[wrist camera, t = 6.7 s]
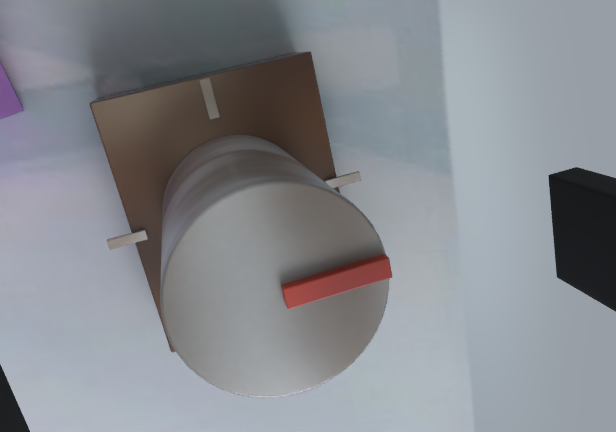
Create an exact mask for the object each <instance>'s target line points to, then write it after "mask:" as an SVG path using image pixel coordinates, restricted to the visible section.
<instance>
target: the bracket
mask: <svg viewBox="0 0 616 432" xmlns="http://www.w3.org/2000/svg"><path fill="white" fill-rule="evenodd" d="M20 111H23V108H22V106H21V104H20V102H19V100H18V98H17V96H16V94H15V92H14V89H13V87H12V85H11V83H10V81H9V79H8V77H7V75H6V73H5V71H4V69H3V67H2V65H1V63H0V119H1V118H4V117H6V116H9V115H12V114H15V113H18V112H20Z"/></svg>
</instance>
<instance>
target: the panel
mask: <svg viewBox="0 0 616 432" xmlns="http://www.w3.org/2000/svg"><path fill="white" fill-rule="evenodd" d="M90 107H91V110H92V113H93V116H94V119H95V122H96V125H97V128H98V131H99V134H100V137H101V140H102V143H103V146H104V149H105V152H106V155H107V158H108V161H109V164H110V168H111V171H112V174H113V177H114V180H115V183H116V186H117V189H118V192H119V195H120V198H121V201H122V204H123V207H124V210H125V213H126V216H127V219H128V222H129V225H130V228H131V231H132V233H129V234H126V235H122V236H118V237H115V238H111V239H108V240H107V243H108V246H109V248H110V249H114V248H117V247H121V246H125V245H128V244H132V243H136V246H137V249H138V252H139V255H140V259H141V262H142V265H143V268H144V271H145V274H146V277H147V280H148V283H149V286H150V289H151V292H152V295H153V298H154V301H155V304H156V307H157V310H158V313H159V316H160V319H161V322H162V325H163V328H164V331H165V334H166V337H167V340H168V343H169V347H170V350H171V352H175V351H176V350H175V349H174V347H173V345H172V344H171V342H170V340H169V337H168V335H167V332H166V330H165V327H164V323H163V319H162V314H161V304H160V288H161V248H162V209H163V198H164V192H165V189H166V186H167V183H168V180H169V178H170V176H171V174H172V173H173V171H174V170H175V168H176V167H177V165H178V164H179V163H180V162H181V161H182V159H183V158H184V157H185V156H186V155H188V154H189V153H190V152H191V151H192V150H194V149H195V148H197V147H198V146H200V145H202V144H204V143H206V142H208V141H210V140H213V139H216V138H219V137H225V136H231V135H246V136H253V137H257V138H261V139H264V140H267V141H269V142H271V143H273V144H275V145H277V146H278V147H280V148H281V149H283V150H284V151H285V152H287V153H288V154H289V155H291V156H292V157H293V158H295V159H296V160H297V161H298V162H300V163H301V164H302V165H304V166H305V167H306V168H307V169H309V170H310V171H311V172H313V173H314V174H315V175H316V176H318V177H319V178H320V179H322V180H323V181H324V182H325V183H327V184H328V185H329V186H331V187H332V188H333V189H334V190H336V191H337V192H338V193H340V192H339V186H343V185H346V184H350V183H354V182H357V181H361V178H360V172H359V171H357V172H354V173H350V174H346V175H343V176H339V177H336V173H335V168H334V163H333V158H332V153H331V148H330V143H329V138H328V134H327V129H326V124H325V119H324V114H323V109H322V104H321V99H320V94H319V89H318V85H317V80H316V75H315V70H314V65H313V60H312V55H311V52H295V53H291V54H287V55H282V56H278V57H274V58H269V59H265V60H261V61H256V62H252V63H248V64H244V65H239V66H235V67H231V68H226V69H222V70H218V71H213V72H209V73H205V74H200V75H196V76H192V77H187V78H183V79H179V80H174V81H170V82H166V83H162V84H157V85H153V86H149V87H144V88H140V89H136V90H131V91H127V92H123V93H118V94H114V95H110V96H105V97H101V98H98V99H96V100H94V101H93V102H91V103H90Z"/></svg>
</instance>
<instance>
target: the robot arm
mask: <svg viewBox="0 0 616 432" xmlns="http://www.w3.org/2000/svg"><path fill="white" fill-rule="evenodd" d="M549 187H550V197H551V198H550V199H551V211H552V223H553V235H554V247H555V259H556V271H557V277H558V278H559V279H561V280H563V281H564V282H566V283H568V284H570V285H571V286H573V287H575V288H576V289H578V290H580V291H582V292H584V293H585V294H587V295H588V296H590V297H592V298H594V299H595V300H597V301H599V302H601V303H602V304H604V305H606V306H607V307H609V308H611V309H612V310H614V311H616V178H613V177H610V176H606V175H602V174H599V173H595V172H592V171H588V170H584V169H581V168H572V169H569V170H565V171H562V172H558V173H554V174H551V175H549ZM0 432H30V430H29V428H28V426H27V424H26V421H25V419H24V417H23V415H22V412H21V410H20V408H19V406H18V403H17V401H16V399H15V396H14V394H13V392H12V390H11V387H10V385H9V383H8V381H7V378H6V376H5V374H4V372H3V369H2V367H1V365H0Z"/></svg>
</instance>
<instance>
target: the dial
mask: <svg viewBox="0 0 616 432" xmlns="http://www.w3.org/2000/svg"><path fill="white" fill-rule="evenodd" d="M389 278H392V272H391V267H390V262H389V258H388V257H387V256H386V254H385V250H384V247H383V245H382V242H381V240H380V237H379V235H378V234H377V232H376V230H375V229H374V227H373V225H372V224H371V222H370V221H369V220H368V219H367V217H366V216H365V215H364V214H363V213H362V212H361V211H360V210H359V209H358V208H357V207H356V206H355V205H354V204H353V203H351V202H350V201H349V200H347V199H346V198H345V197H343V196H342V195H341V194H340V193H338V192H337V191H336V190H334V189H333V188H332V187H331V186H329V185H328V184H327V183H325V182H324V181H323V180H322V179H320V178H319V177H318V176H316V175H315V174H314V173H313V172H311V171H310V170H309V169H307V168H306V167H305V166H304V165H302V164H301V163H300V162H298V161H297V160H296V159H295V158H293V157H292V156H291V155H289V154H288V153H287V152H285V151H284V150H283V149H281V148H280V147H278V146H277V145H275V144H273V143H271V142H269V141H267V140H264V139H261V138H257V137H253V136H246V135H231V136H225V137H219V138H216V139H213V140H210V141H208V142H206V143H204V144H202V145H200V146H198V147H197V148H195V149H194V150H192V151H191V152H190V153H189V154H188V155H186V156H185V157H184V158H183V159H182V161H181V162H180V163H179V164H178V165H177V167H176V168H175V170H174V171H173V173H172V174H171V176H170V178H169V180H168V183H167V186H166V189H165V192H164V198H163V209H162V248H161V288H160V304H161V314H162V319H163V323H164V327H165V330H166V332H167V335H168V337H169V340H170V342H171V344H172V345H173V347H174V349H175V350H176V352H177V354H178V355H179V356H180V358H181V359H182V360H183V361H184V362H185V364H186V365H187V366H188V367H189V368H190V369H191V370H193V371H194V372H195V373H196V374H197V375H198V376H200V377H201V378H203V379H204V380H206V381H207V382H209V383H210V384H212V385H214V386H216V387H218V388H220V389H222V390H225V391H228V392H231V393H234V394H238V395H243V396H248V397H258V398H275V397H283V396H290V395H294V394H298V393H301V392H305V391H307V390H310V389H312V388H315V387H317V386H319V385H321V384H323V383H325V382H327V381H329V380H331V379H332V378H334V377H335V376H337V375H338V374H339V373H341V372H342V371H344V370H345V369H346V368H347V367H348V366H349V365H351V364H352V363H353V362H354V361H355V360H356V359H357V358H358V356H359V355H360V354H361V353H362V352H363V351H364V349H365V348H366V347H367V345H368V344H369V343H370V341H371V340H372V338H373V336H374V334H375V333H376V331H377V329H378V327H379V324H380V322H381V320H382V317H383V314H384V311H385V307H386V304H387V298H388V291H389Z"/></svg>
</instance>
